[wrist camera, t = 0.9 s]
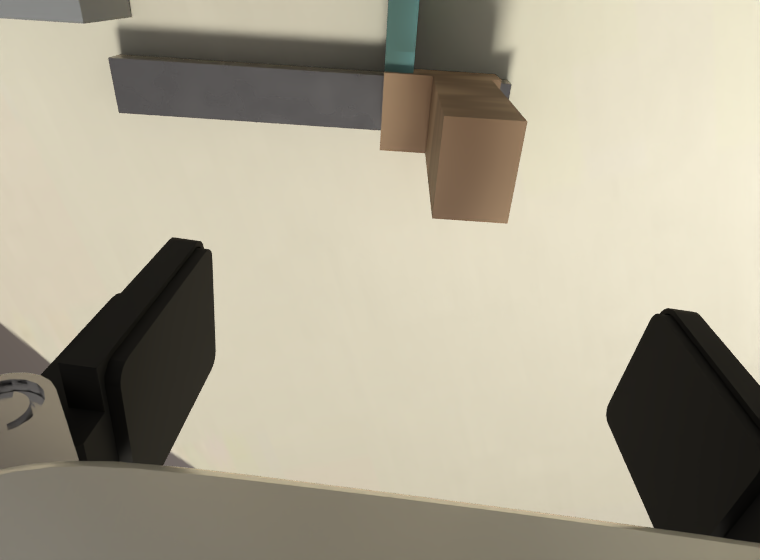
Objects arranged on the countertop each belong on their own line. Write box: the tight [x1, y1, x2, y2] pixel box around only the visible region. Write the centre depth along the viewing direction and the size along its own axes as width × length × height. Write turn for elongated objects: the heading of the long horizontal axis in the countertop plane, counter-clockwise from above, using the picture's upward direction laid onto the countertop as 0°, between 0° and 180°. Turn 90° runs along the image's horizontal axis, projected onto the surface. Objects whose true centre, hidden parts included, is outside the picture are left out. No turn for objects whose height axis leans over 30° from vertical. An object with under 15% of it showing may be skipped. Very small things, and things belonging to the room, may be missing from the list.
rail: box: [108, 54, 511, 130], centre depth 30 cm, size 22×3×2 cm, turn 87°
